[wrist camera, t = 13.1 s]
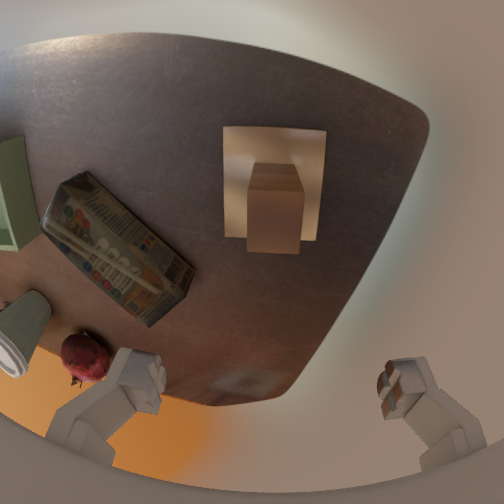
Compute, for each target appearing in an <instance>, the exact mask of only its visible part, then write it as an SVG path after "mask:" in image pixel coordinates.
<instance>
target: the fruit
mask: <svg viewBox="0 0 504 504" xmlns="http://www.w3.org/2000/svg"><path fill="white" fill-rule="evenodd" d="M61 359H62V362H63V365H64V367H65V369H66V370H67V371H68V372H69V373H70V374H71V375H72V376H73V378H72V380H73V381H72V384H71V386H72V385H74V384H77V383H78V382H81V385H82V381H85V382H97V381H99V380H101V379H102V378H103V377H104V376H105V375H106V373H107V372H108V370H109V364H110V362H109V356H108V353H107V351H106V349H105V348H104V347H102V346H101V345H100V344H99V343H97V342H96V341H95V340H94V339H92V338H91V337H90V336H89V335H88V334H87V333H86V332H85V331H84V330H83V333H82V334H80V335H79V334H74V335H70V336H68V337H67V338H66V339H65V340H64V342H63V344H62V347H61ZM81 385H80V388H81Z"/></svg>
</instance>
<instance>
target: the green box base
mask: <svg viewBox="0 0 504 504" xmlns="http://www.w3.org/2000/svg"><path fill="white" fill-rule="evenodd" d="M39 226H40V222H39V218H38V214H37V210H36V205H35V201H34V196H33V191H32V186H31V181H30V176H29V170H28V163H27V157H26V149H25V141H24V135H22V136H19V137H16V138H13V139H10V140H7V141H4V142H1V143H0V250H8V251H20V250H21V249H22V248H23V247H24V246H26V245H27V244H28V243H29V242H30V241H32V240H33V239H34V238H35V237H37V236H38V235H39V234H40V233H41V232H42V231H41V230H40V228H39Z"/></svg>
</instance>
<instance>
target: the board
mask: <svg viewBox="0 0 504 504" xmlns="http://www.w3.org/2000/svg"><path fill="white" fill-rule="evenodd" d="M326 134H327V131H325V130H317V129H306V128H292V127H273V126H223V179H224V226H225V237H240V238H247V189H248V185H249V181H250V177H251V173H252V169H253V165H254V163H276V164H294V165H295V168H296V170H297V173H298V175H299V178H300V180H301V183H302V186H303V188H304V191H305V199H304V210H303V221H302V231H301V240H309V241H315V240H316V234H317V226H318V218H319V209H320V200H321V191H322V181H323V171H324V160H325V148H326Z"/></svg>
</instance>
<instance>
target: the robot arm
mask: <svg viewBox="0 0 504 504" xmlns="http://www.w3.org/2000/svg"><path fill="white" fill-rule="evenodd" d="M161 363H162V357H161V355H160V354H156V353H151V352H145V351H139V350H134V349H129V348H124V347H121V348H120V349H119V350H118V352H117V354H116V356H115V358H114V360H113V362H112V365H111V367H110V369H109V371H108V373H107V375H106V378H105V380H104V381H102V380H100V381H99V382H97V383H96V384H94V385H93V386H92V387H90V388H89V389H87V390H86V391H84V392H83V393H82V394H80V395H78V396H77V397H76V398H74V399H73V400H71V401H70V402H69V403H67V404H65V405H64V406H62V407H61V408H59V409H58V410H57V411H56V413H55V415H54V417H53V420H52V422H51V424H50V426H49V429H48V431H47V433H46V436H45V438H44V437H42V436H40V435H38V434H36V433H34V432H32V431H30V430H29V429H27V428H25V427H23V426H22V425H20V424H18V423H17V422H15V421H13V420H12V419H10V418H8V417H7V416H5V415H4V414H2V413H1V412H0V504H504V438H503V439H501V440H499V441H497V442H496V443H493V444H491V445H489V446H487V443H486V440H485V437H484V434H483V431H482V428H481V425H480V422H479V420H478V419H477V418H476V417H475V416H473V415H472V414H471V413H470V412H469V411H468V410H466V409H465V408H464V407H463V406H461V405H460V404H459V403H458V402H457V401H456V400H454V399H453V398H452V397H451V396H449V395H448V394H447V393H446V392H445V391H443V390H442V389H438V386H437V384H436V381H435V379H434V376H433V374H432V371H431V369H430V367H429V364H428V362H427V360H426V358H425V357H415V358H405V359H396V360H389V361H388V362H387V363H386V365H385V369H386V370H385V371H384V372H382V373H381V374H380V376H379V378H378V382H377V391H378V396H379V397H380V398H381V399H382V400H383V403H382V405H381V408H382V413H383V416H384V420H388V419H396V418H402V417H404V418H403V419H404V420H405V421H406V422H407V423H408V425H409V426H410V427H411V428H412V429H413V430H414V431H415V433H416V434H417V435H418V436H419V437H420V438H421V439H422V441H423V442H424V443H425V444H426V445H427V446H428V448H429V449H428V450H427V451H426V452H425V453H423V454H422V455H421V456H420V458H419V459H420V465H421V470H422V472H419V473H416V474H412V475H409V476H405V477H401V478H397V479H393V480H389V481H384V482H379V483H374V484H369V485H363V486H358V487H351V488H345V489H336V490H327V491H314V492H299V493H298V492H296V493H257V492H239V491H226V490H216V489H208V488H202V487H195V486H188V485H183V484H178V483H173V482H168V481H163V480H159V479H154V478H151V477H147V476H143V475H139V474H136V473H132V472H129V471H125V470H122V469H119V468H116V467H113V466H112V463H113V459H114V456H115V450H114V449H113V448H112V447H111V446H110V445H109V444H108V443H107V442H106V440H107V439H108V438H109V437H110V436H111V435H113V434H114V432H116V431H117V430H118V429H119V428H120V427H121V426H122V425H123V424H124V423H125V422H127V420H128V419H130V418H131V417H132V416H133V415H134V414H135V413H136V411H139V412H144V413H150V414H155V415H157V414H158V411H159V407H160V404H161V398H160V396H159V394H161V393H162V392H163V391H164V390H165V386H166V381H167V373H166V369H165V367H164V366H163V365H162V364H161Z"/></svg>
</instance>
